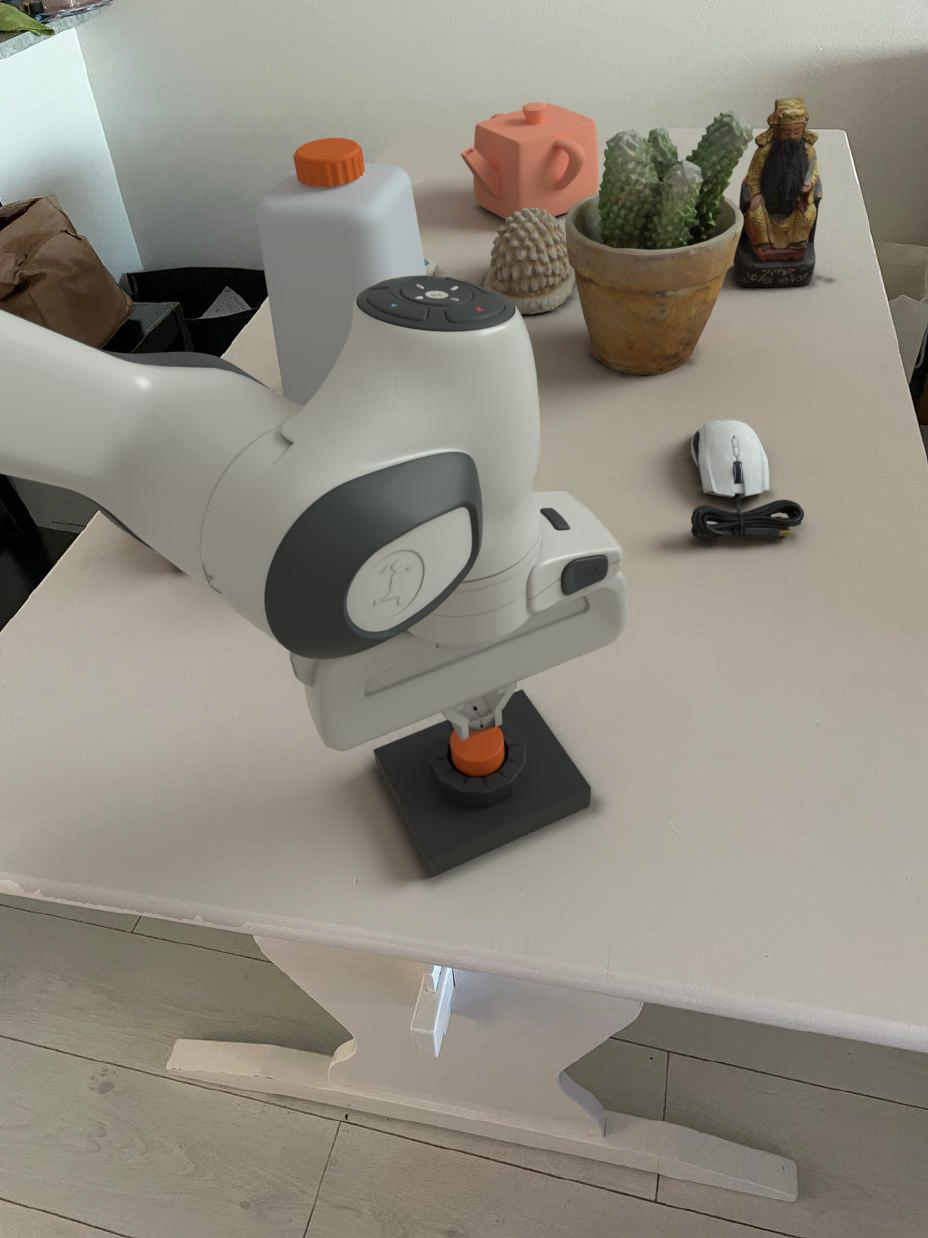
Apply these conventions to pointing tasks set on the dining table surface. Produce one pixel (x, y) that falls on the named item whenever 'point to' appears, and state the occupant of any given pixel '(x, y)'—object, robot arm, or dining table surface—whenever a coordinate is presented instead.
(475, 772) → the button
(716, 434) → the computer mouse
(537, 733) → the button box
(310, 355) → the plastic bottle
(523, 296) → the sculpture
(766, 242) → the statue
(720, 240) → the potted plant
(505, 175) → the teapot
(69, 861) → the dining table surface
